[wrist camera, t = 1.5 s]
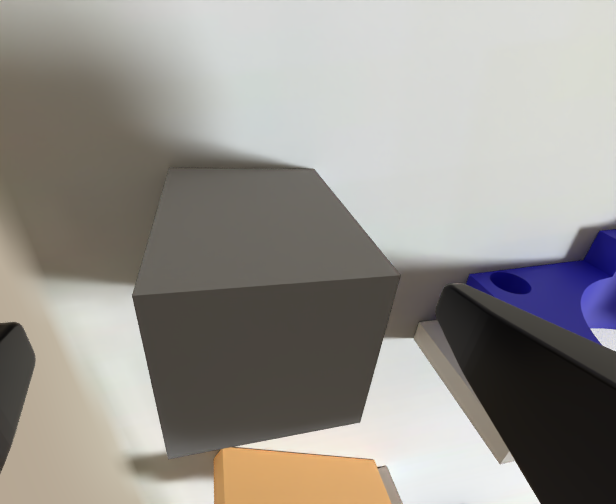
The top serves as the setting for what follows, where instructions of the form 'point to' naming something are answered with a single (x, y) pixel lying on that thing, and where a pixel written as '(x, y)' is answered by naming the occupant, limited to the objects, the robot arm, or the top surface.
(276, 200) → the gray rectangular block
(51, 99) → the top surface
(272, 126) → the top surface
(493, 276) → the cable clip
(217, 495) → the door
